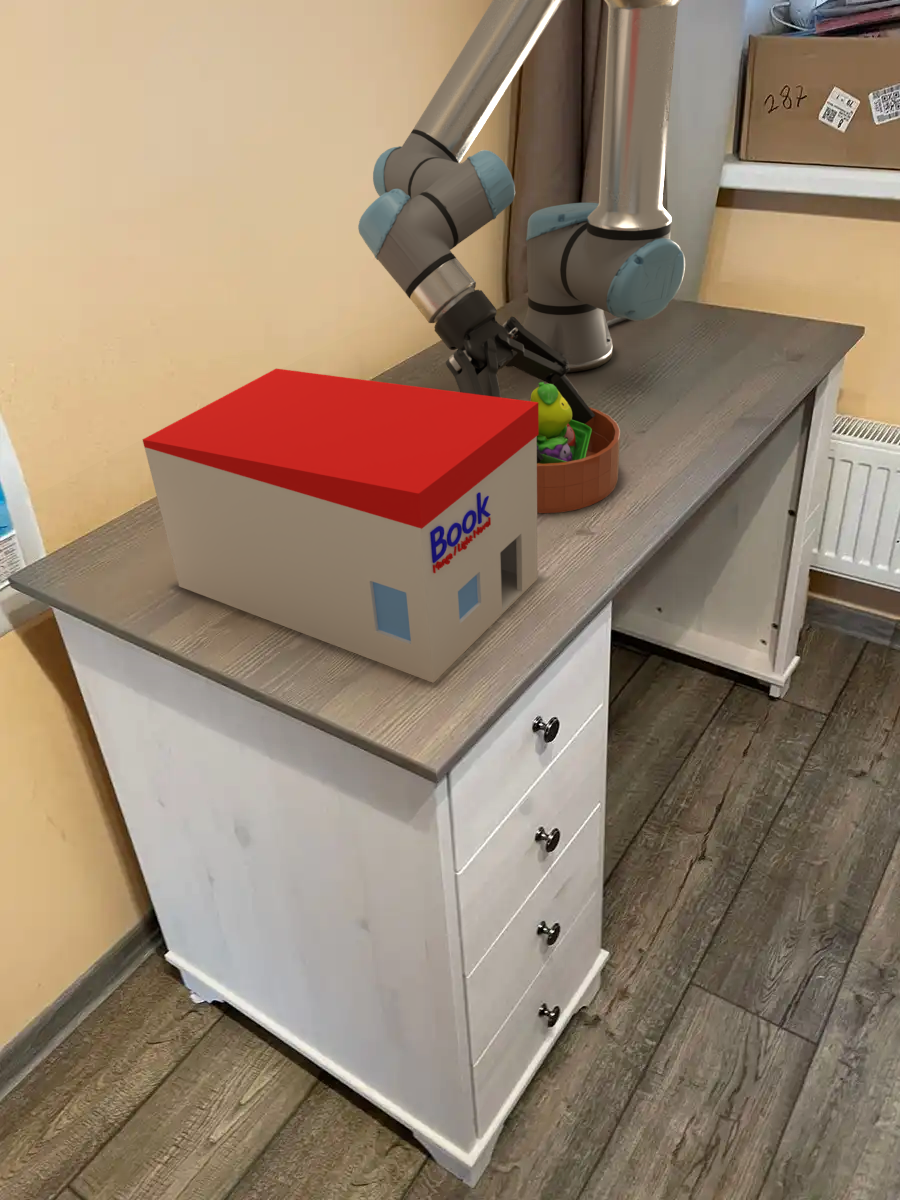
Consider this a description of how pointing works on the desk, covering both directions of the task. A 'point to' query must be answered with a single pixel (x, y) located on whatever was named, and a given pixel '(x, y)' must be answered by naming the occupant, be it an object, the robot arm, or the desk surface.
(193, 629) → the desk surface
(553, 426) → the fruit basket
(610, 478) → the pot
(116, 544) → the desk surface
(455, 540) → the bookstore
